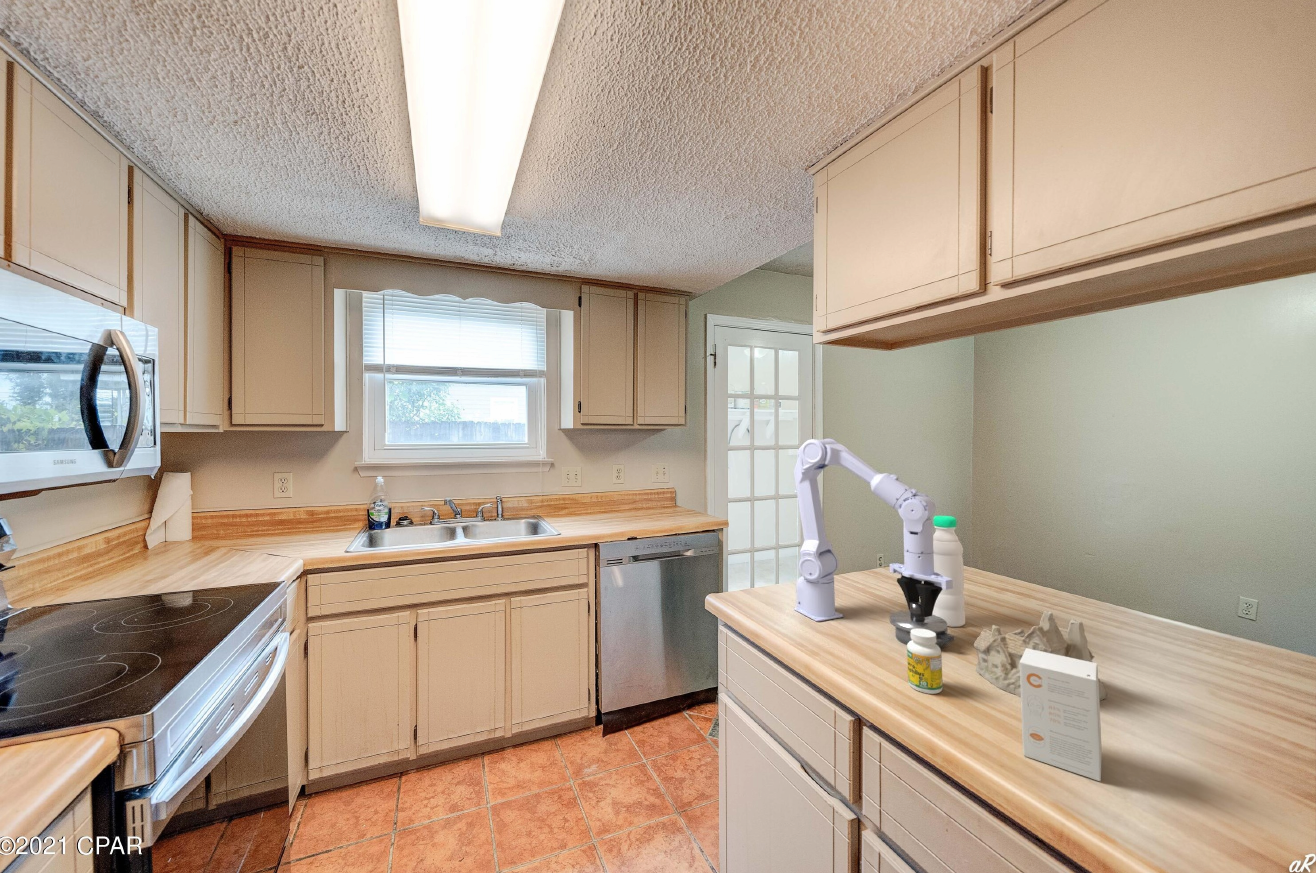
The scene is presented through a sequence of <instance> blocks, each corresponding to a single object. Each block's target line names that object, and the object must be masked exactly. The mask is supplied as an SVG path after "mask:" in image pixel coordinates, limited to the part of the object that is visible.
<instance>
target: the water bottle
mask: <svg viewBox="0 0 1316 873" xmlns="http://www.w3.org/2000/svg"><path fill="white" fill-rule="evenodd" d="M957 522H958V521H957V518H956V517H954V516H950V515H934V516H933V519H932V524H933V526H934V529H935V532H933V546H934V572H937V573H939V574H941V575H943V576H945V577H947V578H950V579H953V589H947V590H945V589H943V590H942V591H941V592H940V594H939V596H938V598H937V600H936V603H935V606H934V609H933V613H932V615H935V616H938V617H940V618H942V619H944V620H945V621H946V622H947V627H950V628H951V627H952V628H960V627H962V626H964V625H965V624H966V613H965V606H966V605H965V604H966V603H965V602H966V601H965V595H964V588H965V587H964V586H965V573H964V572H965V569H964V559H963V553H964V548H963V544H962V543H961V541H960V540H959V537H958V536H957V534H956V532H955V531H956V529H957V528H956V527H957Z"/></svg>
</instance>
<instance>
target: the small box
mask: <svg viewBox="0 0 1316 873" xmlns="http://www.w3.org/2000/svg"><path fill="white" fill-rule="evenodd" d="M1019 663H1020V683H1021V697H1020V700H1021V701H1020V702H1021V703H1020V704H1021V705H1020V706H1021V708H1020V709H1021V730H1022V734H1021V735H1022V750H1023V751H1022V752H1023V756H1024V757H1026V758H1029V759H1032V760H1036V761H1039V762H1041V763H1045V764H1047V765H1050V766H1053V767H1056V768H1060V769H1063V770H1065V771H1068V772H1071V773H1074V774H1078V775H1080V776H1083V777H1085V778H1087V779H1088V778H1089V779H1092V780H1095V781H1098V782H1101V779H1102V755H1103V754H1102V727H1101V726H1102V725H1101V724H1102V723H1101V708H1100V705H1101V703H1100V702H1101V701H1099V682H1098V679H1099V669H1098V663H1097V662H1093V661H1092V662H1088V661H1084V660H1079V659H1074V658H1070V657H1065V656H1060V655H1056V654H1051V653H1046V652H1042V651H1037V650H1032V649H1028V648H1026V649H1025V652H1024V654H1023V656H1022V658H1021V660H1020V662H1019Z"/></svg>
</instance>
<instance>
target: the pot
mask: <svg viewBox="0 0 1316 873" xmlns="http://www.w3.org/2000/svg"><path fill="white" fill-rule="evenodd" d="M894 628H895V629H894V630H895V638H896V640H897V641H898V642H900V643H902V644H904V645H906V646H907V644H908V643H909V642H910V641H912V639H911V637H910V633H911V632H908V631H904V630H901V629H899V628H897V627H895V626H894ZM952 642H955V635H952V634H949V632H948V628H947V631H946V632H944V633H941V634H936V643H935V644H936V645H938V646H939V647H940V649H941V650H943V649H945V648H947V647H948V646H949V643H952Z"/></svg>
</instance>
